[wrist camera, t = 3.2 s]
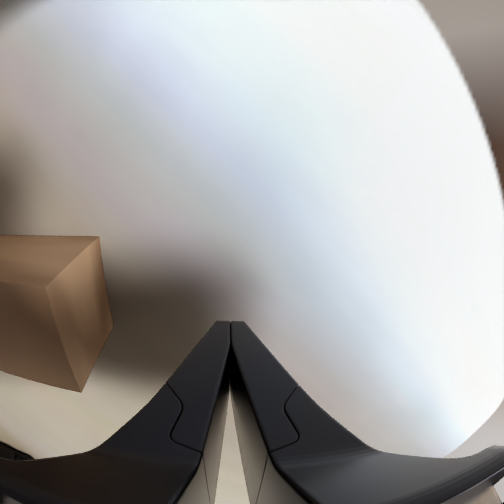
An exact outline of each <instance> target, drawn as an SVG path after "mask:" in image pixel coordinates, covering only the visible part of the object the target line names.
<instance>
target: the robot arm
mask: <svg viewBox="0 0 504 504" xmlns="http://www.w3.org/2000/svg"><path fill="white" fill-rule="evenodd" d="M229 390H230V393H231V400H232V407H233V413H234V419H235V425H236V431H237V437H238V442H239V448H240V454H241V459H242V465H243V470H244V475H245V480H246V486H247V491H248V496H249V501H250V504H504V502H503V503H502V502H501V500H500V498H499V496H498V494H497V492H496V490H495V488H494V486H493V485H495V484H496V483H497V482H498V481H499V480H500V479H501V478H503V477H504V446H496V445H494V446H491V447H488V448H486V449H484V450H483V451H481V452H479V453H477V454H474V455H472V456H468V457H464V458H449V459H448V458H431V457H419V456H409V455H400V454H392V453H386V452H382V451H378V450H376V449H374V448H372V447H370V446H368V445H367V444H365V443H364V442H362V441H361V440H360V439H359V438H357V437H356V436H355V435H353V434H352V433H351V432H350V431H348V430H347V429H346V428H345V427H343V426H342V425H341V424H340V423H338V422H337V421H336V420H335V419H334V418H332V417H331V416H330V415H329V414H328V413H327V412H325V411H324V410H323V409H322V408H321V407H320V406H319V405H318V404H317V403H316V402H315V401H314V400H313V399H312V398H311V397H310V396H309V395H308V394H307V393H306V392H305V391H304V390H303V389H302V388H301V386H299V385H298V383H297V382H296V381H295V380H294V379H293V378H292V377H291V375H290V374H289V373H288V372H287V371H286V370H285V369H284V367H283V366H282V365H281V364H280V363H279V362H278V361H277V359H276V358H275V357H274V356H273V355H272V354H271V352H270V351H269V350H268V349H267V348H266V347H265V345H264V344H263V343H262V342H261V341H260V340H259V338H258V337H257V336H256V335H255V334H254V332H253V331H252V330H251V329H250V328H249V327H248V325H247V324H246V323H245V322H244V321H232V322H231V323H230V322H229V321H216V322H215V323H214V324H213V326H212V327H211V328H210V329H209V331H208V332H207V333H206V334H205V336H204V337H203V338H202V339H201V340H200V342H199V343H198V344H197V345H196V347H195V348H194V349H193V350H192V352H191V353H190V354H189V355H188V356H187V358H186V359H185V360H184V361H183V362H182V364H181V365H180V366H179V367H178V369H177V370H176V371H175V372H174V373H173V375H172V376H171V377H170V378H169V379H168V381H167V382H166V384H164V385H163V387H162V388H161V389H160V390H159V391H158V393H157V394H156V395H155V396H154V397H153V398H152V399H151V400H150V401H149V403H148V404H147V405H146V406H144V407H143V408H142V409H141V410H140V411H139V412H138V413H137V414H136V415H135V416H134V417H133V418H132V419H130V420H129V421H128V422H127V423H126V424H125V425H124V426H122V427H121V428H120V429H119V430H118V431H117V432H116V433H114V434H113V435H112V436H111V437H110V438H109V439H107V440H106V441H105V442H104V443H102V444H101V445H100V446H98V447H96V448H94V449H92V450H90V451H88V452H84V453H79V454H73V455H66V456H59V457H52V458H43V459H32V458H31V457H29V456H27V455H25V454H22V453H20V452H18V451H15V450H13V449H11V448H9V447H7V446H5V445H3V444H1V443H0V504H214V502H215V495H216V487H217V480H218V473H219V465H220V458H221V451H222V443H223V436H224V429H225V421H226V414H227V407H228V399H229Z"/></svg>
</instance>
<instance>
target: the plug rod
mask: <svg viewBox="0 0 504 504" xmlns="http://www.w3.org/2000/svg"><path fill="white" fill-rule="evenodd" d="M112 328H113V321H112V316H111V311H110V306H109V301H108V295H107V290H106V284H105V277H104V271H103V264H102V256H101V248H100V240H99V237H96V236H35V235H0V370H1V371H4V372H7V373H10V374H13V375H16V376H19V377H22V378H25V379H29V380H32V381H36V382H39V383H43V384H47V385H51V386H55V387H59V388H63V389H67V390H72V391H76V392H82V390H83V388H84V386H85V384H86V381H87V379H88V377H89V375H90V373H91V371H92V368H93V366H94V364H95V362H96V360H97V358H98V356H99V354H100V352H101V350H102V348H103V346H104V344H105V342H106V340H107V338H108V336H109V334H110V332H111V330H112Z"/></svg>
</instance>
